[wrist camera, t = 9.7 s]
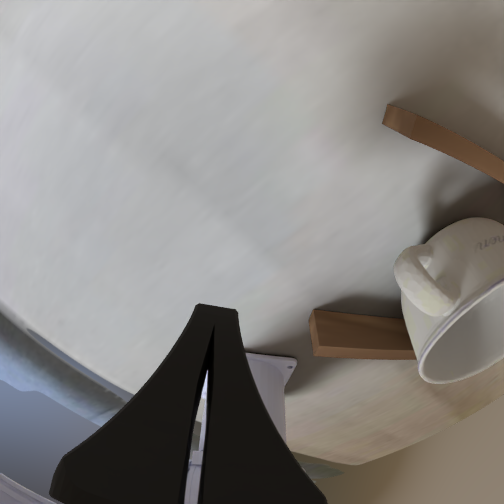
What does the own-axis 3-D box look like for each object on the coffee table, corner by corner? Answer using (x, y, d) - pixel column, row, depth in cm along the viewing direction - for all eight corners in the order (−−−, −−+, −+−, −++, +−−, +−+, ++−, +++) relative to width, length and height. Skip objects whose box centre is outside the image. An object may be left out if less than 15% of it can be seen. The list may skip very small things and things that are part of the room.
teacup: (509, 252, 19) (557, 314, 12) (424, 328, 24) (454, 400, 17) (440, 134, 14) (530, 188, 8) (326, 253, 19) (353, 352, 13)
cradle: (457, 331, 24) (470, 357, 21) (308, 320, 23) (313, 355, 20) (539, 187, 15) (565, 207, 12) (387, 104, 14) (416, 114, 11)
